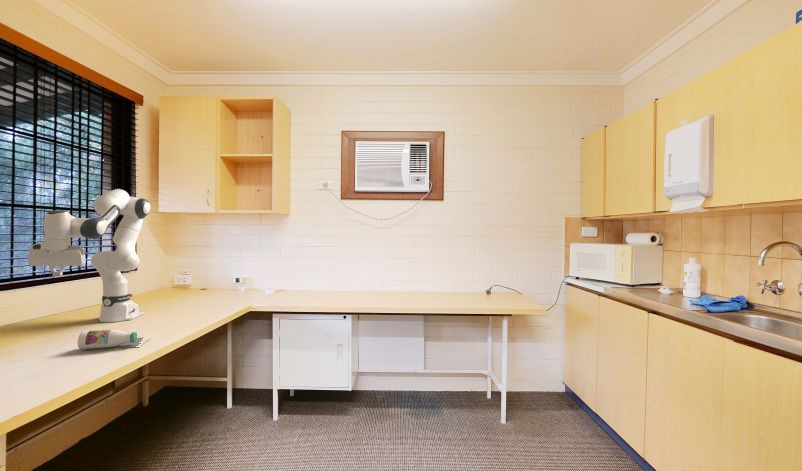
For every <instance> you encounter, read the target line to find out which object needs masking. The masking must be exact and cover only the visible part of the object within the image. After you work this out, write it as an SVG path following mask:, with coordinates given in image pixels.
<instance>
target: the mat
mask: <svg viewBox="0 0 802 471" xmlns="http://www.w3.org/2000/svg"><path fill="white" fill-rule="evenodd" d="M144 337H145V336H144ZM144 337H137V340H136V342H132V343H131V342H130V343H129V342H126V343H123V344H121V345H118V346H115V347H108V348H94V349H85V350H86V351H99V350H100V349H104V350H114V349H115V348H121V349H127V348H126V347H136V346H138V345H139V344H141V343H139V342H141V340H142V339H143V338H144ZM142 341H143V340H142ZM115 350H116V349H115ZM100 351H101V350H100Z"/></svg>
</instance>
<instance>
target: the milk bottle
mask: <svg viewBox="0 0 802 471" xmlns="http://www.w3.org/2000/svg"><path fill="white" fill-rule="evenodd" d="M137 338H138V332H136V331H133V332H132V331H131V332H125V331H122V330H118V329H100V330H98V329H97V330H83V331H82V332H81V331H80V333H79V335H78V338H77V348H78V349H79V350H86V349H94V348H108V347H115V346H118V345H121V344H123V343H126V342H129V343H130V342H131V343H132V342H136V340H137Z"/></svg>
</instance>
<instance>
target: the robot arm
mask: <svg viewBox="0 0 802 471" xmlns="http://www.w3.org/2000/svg"><path fill="white" fill-rule="evenodd" d="M93 209H94V211H95V212H96V213H97V214H98V217H93V218H91V217H90V218H88V217H83V218H82V217H76V216H73V214H72V215H71V213H70V212H69V211H68V210H62V209H59V210H58V209H57V210H50V211H48V212H46V214H45V215H44V216H45V217H44V222H43V231H44V238H43V242H38V243H34V244H31V245H29V250H30V251H28V254H27V264H28V265H29V267H48V268H49V270H50V272H52V276H53V277H57V276H58V277H59V276H63V275H64V274H63V272H64V271H65V270H66V269H67V267H68V266H69V267H73V266H74V267H76V266H77V267H80V266H85V264H87V263H86V255H85V254H86V248H84V247H83V246H82V245H72V244H71V243H72V242H71V241H72V240H71V238H74V239H75V238H76V239H90V240H98V239H100V238H101V237H103V236H104V235H105V234H106V232H107V230H108V228H109V227H110V226H111V225H112V224H113V223H114V222H115V221H116V220H117V219H118V217H120V215H122V216H123V217H122V218H121V221H120V222H119V224H118V225H117V227H116V230H115V232H114V235H113V237H112V242H113V243H114V244H115V245H116V249H115V250H114V251H112V250H111V251H108V250H106V251H100V252H97V253H94V254H93V255H92V257H91V260H90V263H91V265H92V267H93V268H94V269H96V271H97V272H98V274H99V275H100V278H101V281H102V297H101V303H102V304H101V305H100V314H99V316H98V318H97V319H98V321H99V322H100V323H115V322H122V321H123V322H125V321H132V320H134V319H136V318H138V317H140V316H142V315H144V314H145V312H144V311H140V306H139V304H138V303H136V302H135V301H133V300H131V298H133V297H134V293H129V290H128V289H129V288H128V287H129V283H128V282H129V281H128V279H127V278H125V277H124V276H123V275H122V273H121V272H129V271H134V270H136V269H137V268H138V267H139V266H140V263H141V259H140V257H139V255H138V254H137V252H136V244H137V242H138V239H139V236H140V233H141V231H142V228H143V221H144V219H145V217H147V216H148V215H149V214H150V212H151V210H152V205H151V203H150V201H149V200H148V199H145V198H142V197H141V198H140V197H135V196H130V194H129V193H128V192H127V191H126V190H123V189H121V188H115V189H113V190H109V191H107V192H106V193H104V194H102V195H100V196H98V197H97V198H96V199H95V200H94V202H93ZM57 267H59V270H58V271H57V269H56V268H57Z"/></svg>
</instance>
